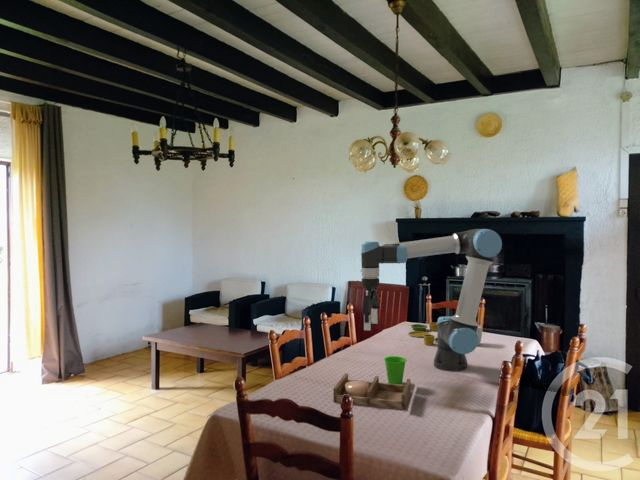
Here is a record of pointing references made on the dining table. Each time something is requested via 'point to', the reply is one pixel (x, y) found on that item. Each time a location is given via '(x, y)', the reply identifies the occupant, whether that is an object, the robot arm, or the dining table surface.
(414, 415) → the dining table surface
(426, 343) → the tableware set
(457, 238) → the robot arm
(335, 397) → the rack
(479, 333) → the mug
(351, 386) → the egg
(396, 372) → the cup
